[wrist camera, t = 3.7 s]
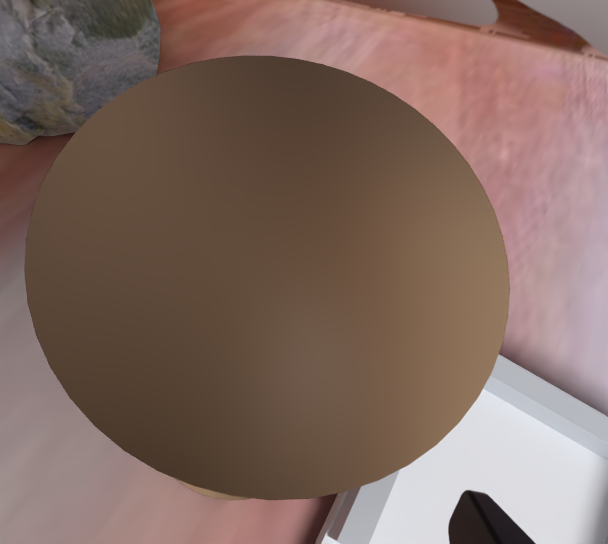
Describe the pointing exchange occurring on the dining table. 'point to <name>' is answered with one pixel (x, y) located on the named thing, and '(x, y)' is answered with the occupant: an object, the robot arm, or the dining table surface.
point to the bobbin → (267, 278)
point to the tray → (494, 471)
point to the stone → (70, 61)
